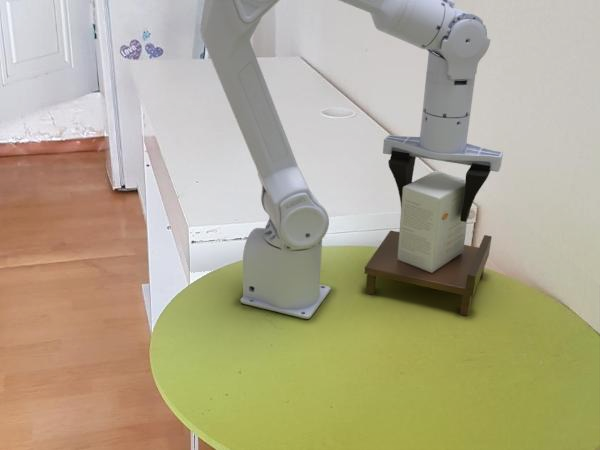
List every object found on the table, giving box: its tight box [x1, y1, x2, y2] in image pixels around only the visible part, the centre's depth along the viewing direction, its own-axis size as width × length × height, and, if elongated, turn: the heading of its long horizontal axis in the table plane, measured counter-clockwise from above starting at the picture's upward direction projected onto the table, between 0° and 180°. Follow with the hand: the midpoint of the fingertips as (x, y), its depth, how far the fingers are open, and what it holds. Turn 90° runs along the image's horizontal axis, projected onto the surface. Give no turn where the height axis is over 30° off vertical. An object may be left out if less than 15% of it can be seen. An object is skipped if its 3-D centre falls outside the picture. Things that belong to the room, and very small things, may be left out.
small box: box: [398, 170, 468, 273], centre depth 97 cm, size 8×6×10 cm
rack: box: [363, 230, 493, 317], centre depth 100 cm, size 14×12×6 cm
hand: (434, 213), depth 97 cm, fingers open, 7 cm apart
